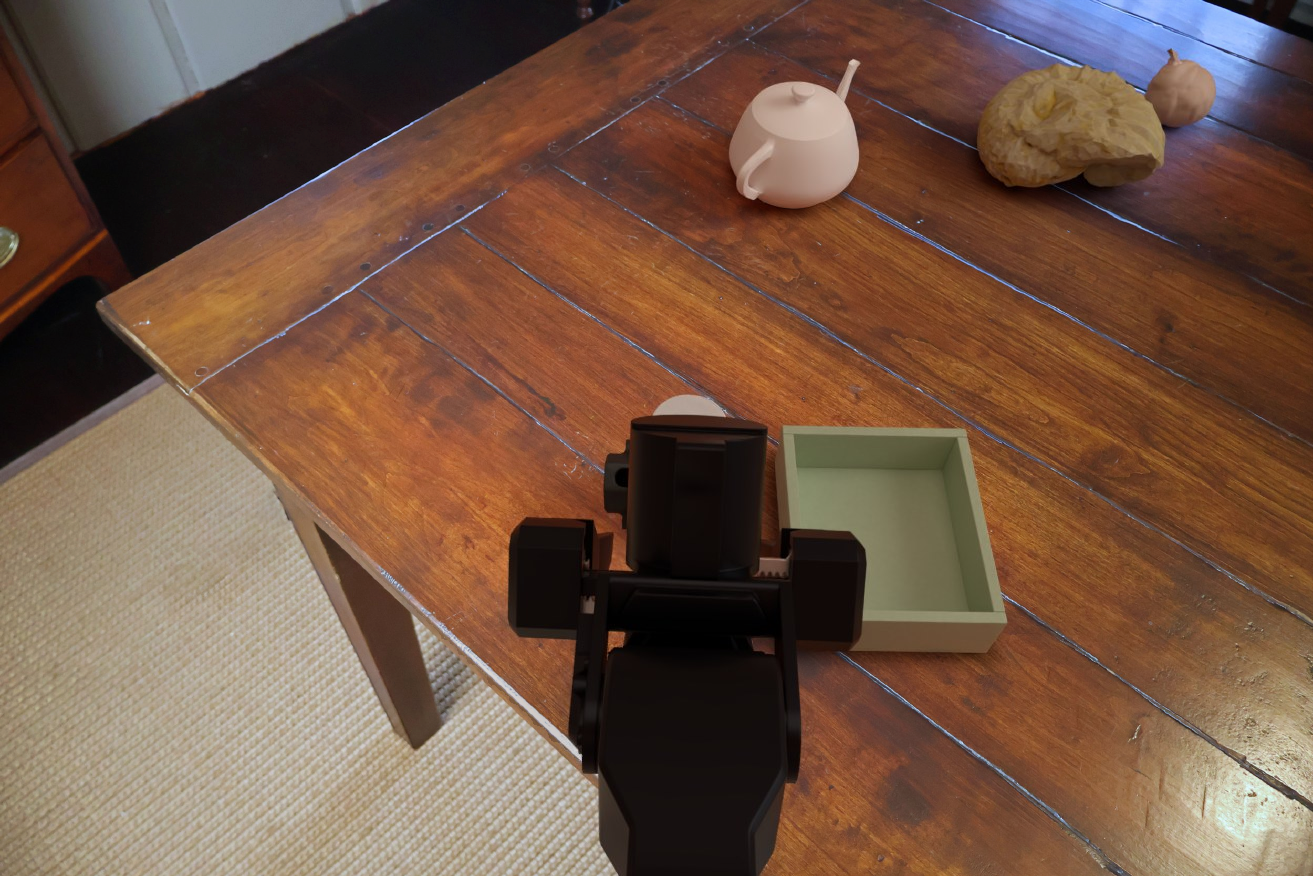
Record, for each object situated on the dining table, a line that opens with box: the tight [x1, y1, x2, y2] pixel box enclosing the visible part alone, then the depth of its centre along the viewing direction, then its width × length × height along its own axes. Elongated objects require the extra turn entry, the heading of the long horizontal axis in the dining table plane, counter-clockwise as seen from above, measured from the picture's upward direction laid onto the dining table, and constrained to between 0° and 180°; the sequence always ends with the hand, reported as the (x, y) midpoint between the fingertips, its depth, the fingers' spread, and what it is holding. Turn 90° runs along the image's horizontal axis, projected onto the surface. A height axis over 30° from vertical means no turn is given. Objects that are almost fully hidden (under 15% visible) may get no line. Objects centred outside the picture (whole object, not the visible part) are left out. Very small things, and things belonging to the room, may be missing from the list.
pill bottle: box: [652, 394, 727, 417], centre depth 67 cm, size 6×6×11 cm
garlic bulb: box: [1143, 47, 1217, 128], centre depth 98 cm, size 7×6×8 cm
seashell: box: [976, 62, 1166, 188], centre depth 92 cm, size 17×11×15 cm
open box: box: [774, 424, 1008, 654], centre depth 68 cm, size 16×14×5 cm
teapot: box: [728, 58, 861, 209], centre depth 91 cm, size 20×12×10 cm, turn 142°
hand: (684, 543), depth 60 cm, fingers open, 9 cm apart
